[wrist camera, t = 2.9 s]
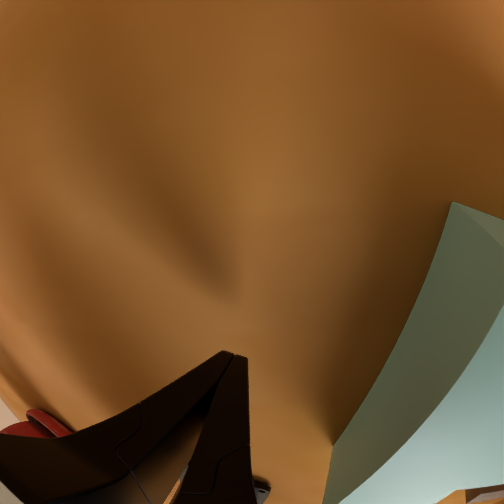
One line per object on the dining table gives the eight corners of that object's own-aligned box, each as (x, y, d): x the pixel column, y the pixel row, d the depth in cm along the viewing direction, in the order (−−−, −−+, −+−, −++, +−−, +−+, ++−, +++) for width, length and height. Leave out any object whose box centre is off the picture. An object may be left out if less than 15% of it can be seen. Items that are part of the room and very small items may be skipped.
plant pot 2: (53, 401, 21) (-16, 481, 11) (134, 480, 25) (87, 553, 14) (16, 391, 27) (-36, 446, 16) (78, 458, 30) (37, 512, 20)
